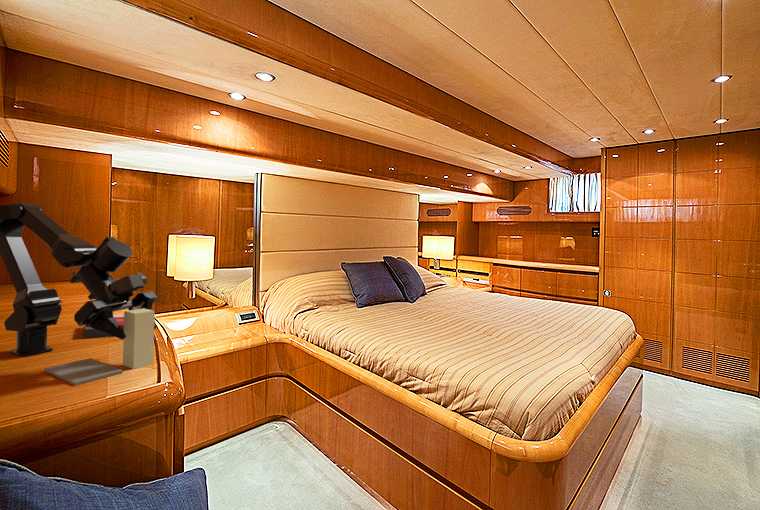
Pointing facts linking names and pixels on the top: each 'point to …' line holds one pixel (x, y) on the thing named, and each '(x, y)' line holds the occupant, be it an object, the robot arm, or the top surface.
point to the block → (138, 338)
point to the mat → (83, 371)
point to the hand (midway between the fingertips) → (140, 333)
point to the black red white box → (94, 333)
